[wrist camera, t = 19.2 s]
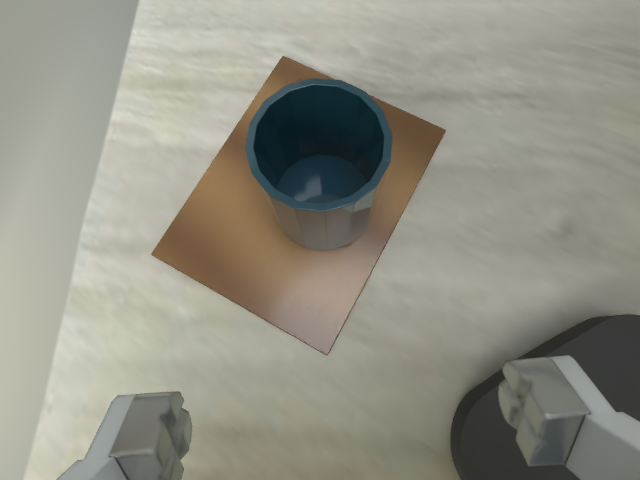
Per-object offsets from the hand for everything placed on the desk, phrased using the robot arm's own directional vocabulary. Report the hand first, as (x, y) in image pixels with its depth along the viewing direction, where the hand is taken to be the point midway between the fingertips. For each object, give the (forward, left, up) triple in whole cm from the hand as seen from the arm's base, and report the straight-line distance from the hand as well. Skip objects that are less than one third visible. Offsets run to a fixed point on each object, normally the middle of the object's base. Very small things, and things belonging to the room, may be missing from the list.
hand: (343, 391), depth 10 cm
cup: (-9, -6, -14) cm, 17 cm away
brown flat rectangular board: (-9, -7, -14) cm, 18 cm away
